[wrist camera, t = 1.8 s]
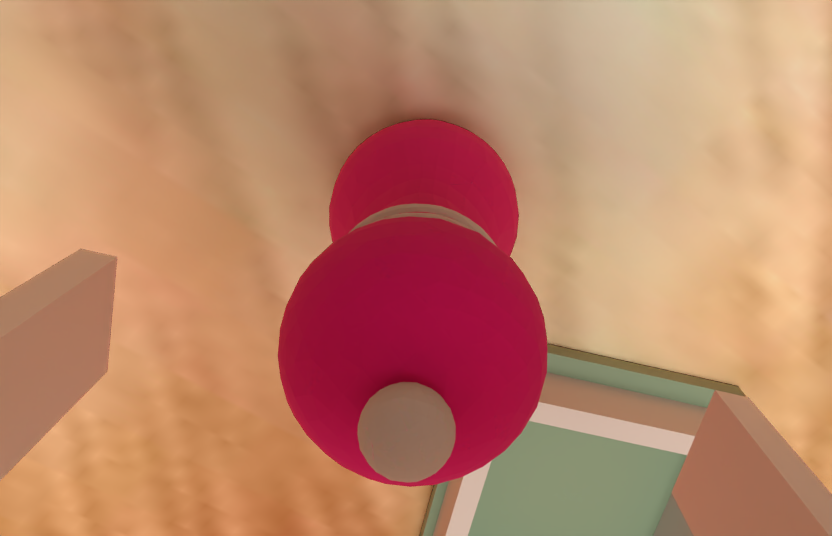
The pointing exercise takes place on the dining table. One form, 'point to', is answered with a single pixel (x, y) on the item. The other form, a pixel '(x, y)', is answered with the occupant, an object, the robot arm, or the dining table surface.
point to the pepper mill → (416, 313)
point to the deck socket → (585, 456)
